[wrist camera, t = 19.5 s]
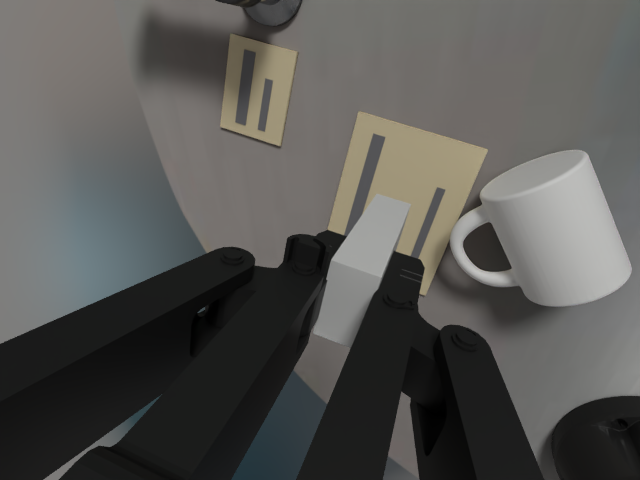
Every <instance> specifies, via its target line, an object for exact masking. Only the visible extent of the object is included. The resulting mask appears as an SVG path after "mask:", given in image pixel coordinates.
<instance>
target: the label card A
mask: <svg viewBox="0 0 640 480" xmlns="http://www.w3.org/2000/svg"><path fill="white" fill-rule="evenodd" d="M297 57H298V52H296V51H292V50H289V49H285V48H282V47H278V46H274V45H271V44H267V43H263V42H260V41H256V40H253V39H249V38H245V37H242V36H238V35H234V34H230V41H229V50H228V60H227V69H226V78H225V87H224V97H223V106H222V115H221V124H220V127H222V128H225V129H228V130H231V131H234V132H237V133H240V134H244V135H247V136H250V137H253V138H256V139H259V140H262V141H265V142H268V143H271V144H274V145H277V146H281V145H282V139H283V134H284V128H285V123H286V117H287V112H288V106H289V101H290V95H291V90H292V84H293V79H294V74H295V68H296V63H297Z"/></svg>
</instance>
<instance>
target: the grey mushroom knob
mask: <svg viewBox="0 0 640 480" xmlns="http://www.w3.org/2000/svg"><path fill="white" fill-rule="evenodd" d="M301 2H302V0H261V2H259V3H258V4H257V5H255V6H253V7H249V8H245V9H246V11H247V13H248V14H249V15H250V16H251V17H252V18H253V19H254V20H255V21H257V22H259V23H261V24H263V25H268V26H279V25H282V24H284V23H286V22H288V21H289V20H290V19H291V18H293V16H294V15H295V14H296V13H297V11H298V9H299V7H300V5H301Z"/></svg>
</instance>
